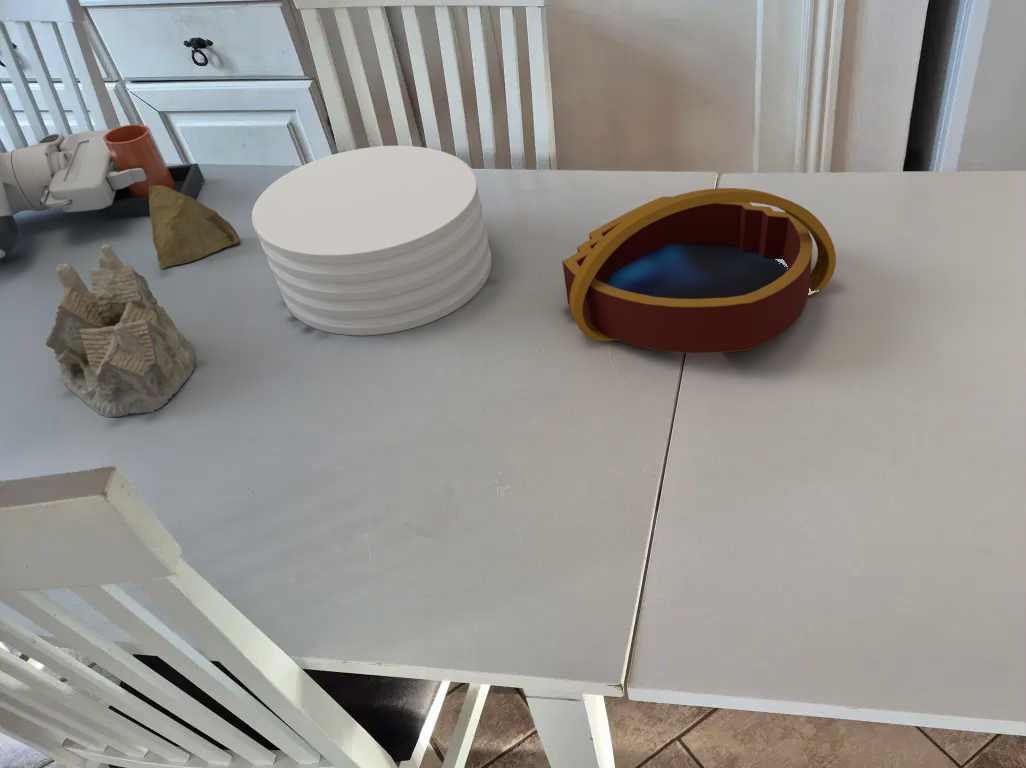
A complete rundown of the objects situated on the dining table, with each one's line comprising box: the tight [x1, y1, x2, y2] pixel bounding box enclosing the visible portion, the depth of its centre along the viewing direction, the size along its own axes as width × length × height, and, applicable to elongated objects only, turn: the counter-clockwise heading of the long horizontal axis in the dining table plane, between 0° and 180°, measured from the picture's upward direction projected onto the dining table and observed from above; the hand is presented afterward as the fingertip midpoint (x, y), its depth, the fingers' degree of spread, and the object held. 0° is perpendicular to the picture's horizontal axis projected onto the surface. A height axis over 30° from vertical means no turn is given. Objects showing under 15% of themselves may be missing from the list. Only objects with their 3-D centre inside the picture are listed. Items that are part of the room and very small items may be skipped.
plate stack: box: [251, 145, 493, 336], centre depth 110 cm, size 28×28×12 cm
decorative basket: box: [562, 187, 837, 354], centre depth 101 cm, size 34×29×15 cm
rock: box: [149, 185, 241, 270], centre depth 118 cm, size 11×9×10 cm
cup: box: [103, 123, 178, 198], centre depth 128 cm, size 6×6×10 cm
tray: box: [106, 162, 205, 221], centre depth 131 cm, size 12×11×3 cm
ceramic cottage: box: [44, 243, 196, 418], centre depth 96 cm, size 16×16×15 cm
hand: (148, 161), depth 128 cm, fingers closed on cup, 6 cm apart
